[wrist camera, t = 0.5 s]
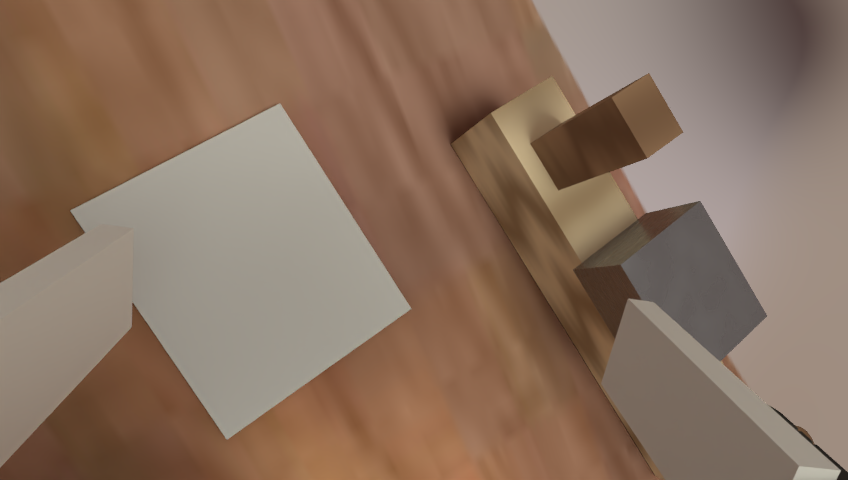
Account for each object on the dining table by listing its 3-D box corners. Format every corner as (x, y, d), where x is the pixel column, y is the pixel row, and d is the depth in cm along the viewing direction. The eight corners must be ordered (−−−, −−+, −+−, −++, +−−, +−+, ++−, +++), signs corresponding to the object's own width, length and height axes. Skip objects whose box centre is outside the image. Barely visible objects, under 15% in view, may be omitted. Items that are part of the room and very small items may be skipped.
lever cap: (705, 314, 32) (767, 316, 28) (637, 376, 30) (693, 386, 27) (645, 213, 32) (700, 200, 28) (572, 269, 30) (620, 264, 26)
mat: (408, 308, 33) (411, 308, 32) (227, 437, 29) (226, 439, 28) (279, 106, 32) (279, 103, 31) (73, 212, 28) (69, 210, 27)
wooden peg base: (698, 432, 38) (912, 492, 26) (655, 476, 37) (860, 561, 25) (504, 111, 36) (637, 12, 24) (450, 143, 35) (562, 57, 23)
